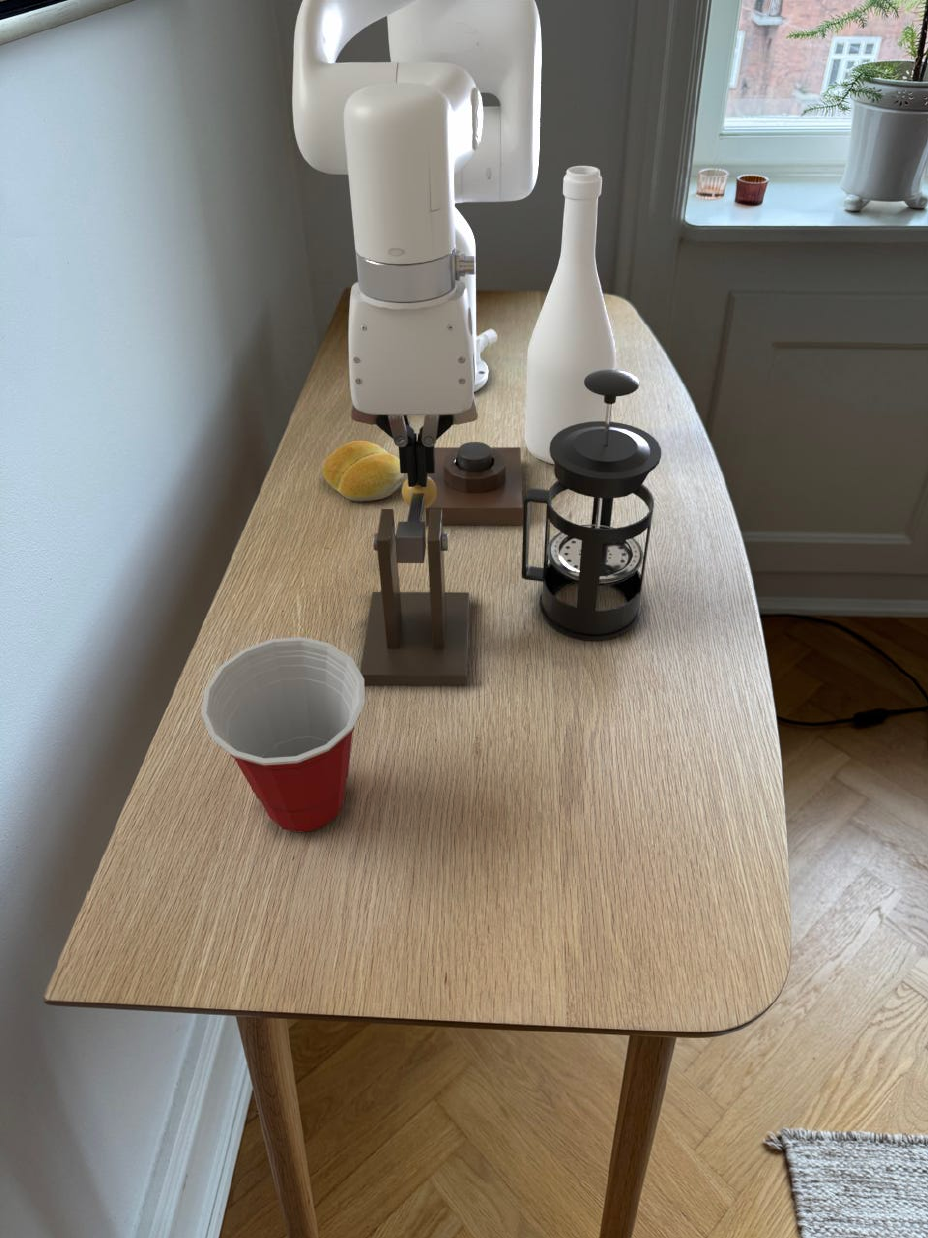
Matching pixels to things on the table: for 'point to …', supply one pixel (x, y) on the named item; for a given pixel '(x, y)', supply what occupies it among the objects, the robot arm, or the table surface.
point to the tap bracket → (415, 618)
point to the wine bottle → (569, 326)
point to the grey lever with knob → (414, 522)
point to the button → (474, 457)
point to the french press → (595, 519)
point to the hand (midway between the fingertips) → (418, 478)
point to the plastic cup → (288, 725)
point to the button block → (478, 489)
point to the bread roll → (363, 471)
